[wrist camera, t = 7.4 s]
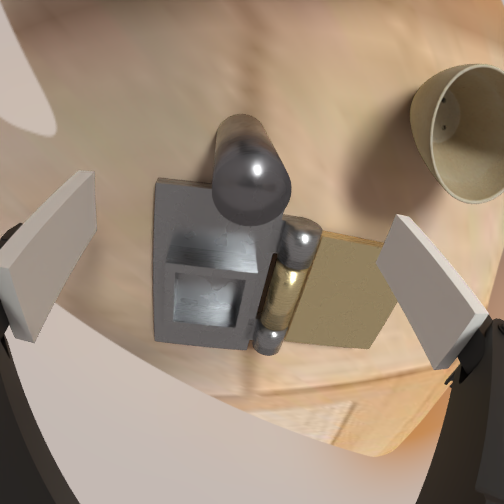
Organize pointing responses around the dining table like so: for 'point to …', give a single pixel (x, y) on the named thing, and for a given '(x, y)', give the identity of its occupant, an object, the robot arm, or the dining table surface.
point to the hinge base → (218, 269)
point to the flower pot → (462, 130)
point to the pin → (248, 173)
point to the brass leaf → (331, 295)
